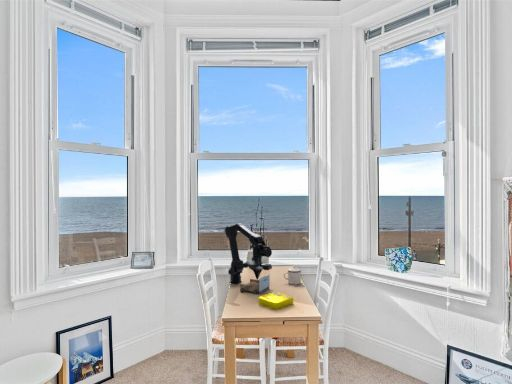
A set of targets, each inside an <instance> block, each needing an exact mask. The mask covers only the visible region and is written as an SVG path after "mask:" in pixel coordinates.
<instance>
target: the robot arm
mask: <svg viewBox="0 0 512 384" xmlns="http://www.w3.org/2000/svg"><path fill="white" fill-rule="evenodd" d="M224 232H225V236H226V238H227V239H228V242H229V247H230V254H231V262H230V268H229V269H228V275H230V281H229V284H234V285H238V284H241V283H242V275H241V274H242V273H243V270H244V269H246V268H248V269H250V270H251V271H252V272H253V274H254V275H255V279H256V280H259V279H260V276H261V273H262V271H270V270H272V269H273V265H272V264H271V263H265V264H263V262H262V261H263V259H262V258H263V257H266V258H271V256H272V254H273V251H272V249H271V248H270V245H267V244H266V242H265V240H264V237H263V236H262V235H260V234H258V233H256V232H255V233H254V232H253V231H252V230H251V229H249V228H247V227H246V226H245V225H244V224H243V223H236V224H234V225H233V224H232V225H227V226H225V228H224ZM238 232H240V233H241V234H242V235H243V236H244V237H246V238H247V239H248V241H249V243H251V245H250V246H249V247H250V248H251V249H252V257H251V260H250V261H245V262H244V261H243V260H241V259H240V256H239V255H240V254H239V249H238V243H237V236H238Z"/></svg>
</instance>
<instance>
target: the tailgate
mask: <svg viewBox="0 0 512 384" xmlns="http://www.w3.org/2000/svg"><path fill="white" fill-rule="evenodd" d="M258 280H259V292H261V291H262V290H264V289H265V288H267V287H269V288H270V286H271V285H270V284H271V281H270V280H271V279H270V273H269V274H265V275H264V276H262V277H261V278H260V277H259V278H258ZM259 292H258V293H259Z"/></svg>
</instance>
